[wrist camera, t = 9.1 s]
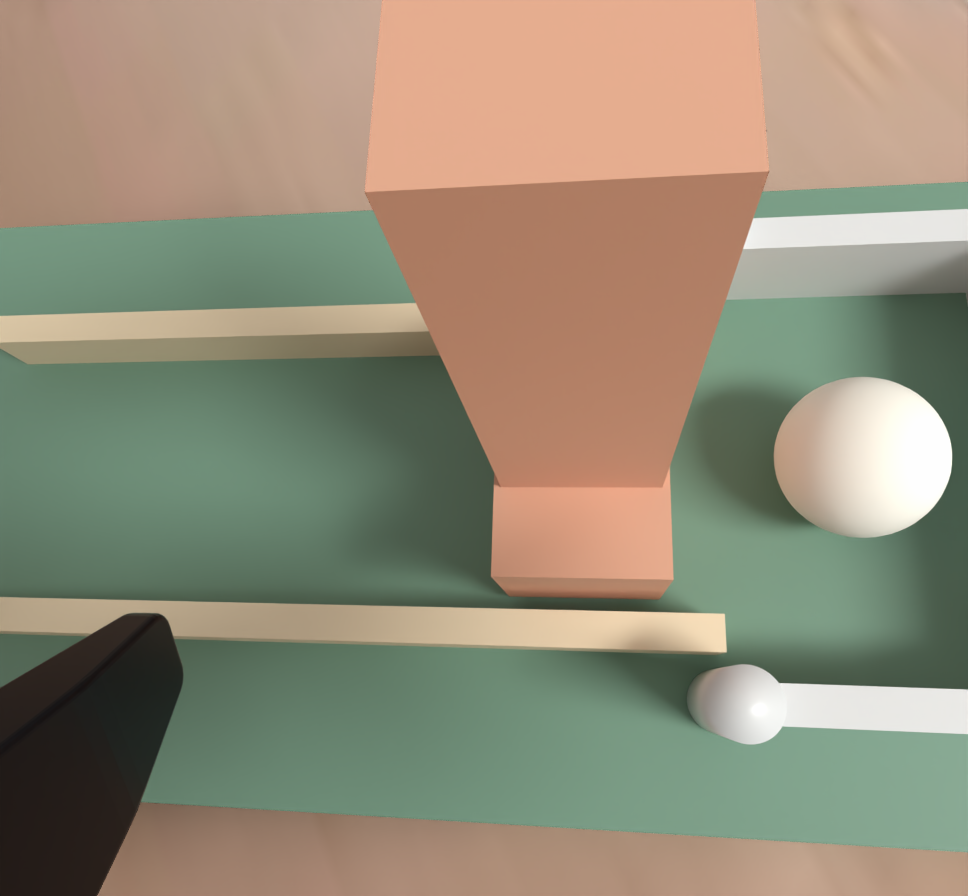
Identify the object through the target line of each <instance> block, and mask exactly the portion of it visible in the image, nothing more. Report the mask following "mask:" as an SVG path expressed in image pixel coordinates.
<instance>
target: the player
mask: <svg viewBox="0 0 968 896" xmlns="http://www.w3.org/2000/svg"><path fill="white" fill-rule="evenodd" d="M768 173H769V164H768V151H767V139H766V126H765V114H764V102H763V89H762V77H761V65H760V52H759V40H758V28H757V15H756V3H755V0H382V7H381V18H380V29H379V40H378V51H377V62H376V73H375V84H374V95H373V106H372V117H371V128H370V139H369V150H368V161H367V172H366V183H365V194H366V196H367V198H368V200H369V203H370V205H371V207H372V209H373V211H374V213H375V216H376V218H377V220H378V222H379V224H380V226H381V229H382V231H383V233H384V235H385V237H386V239H387V242H388V244H389V246H390V248H391V250H392V252H393V255H394V257H395V259H396V261H397V263H398V265H399V268H400V270H401V272H402V274H403V276H404V278H405V280H406V283H407V285H408V287H409V289H410V291H411V293H412V296H413V298H414V300H415V302H416V304H417V306H418V309H419V311H420V313H421V315H422V317H423V319H424V322H425V324H426V326H427V328H428V330H429V332H430V335H431V337H432V339H433V341H434V343H435V345H436V348H437V350H438V352H439V354H440V356H441V358H442V361H443V363H444V365H445V367H446V369H447V371H448V373H449V376H450V378H451V380H452V382H453V384H454V386H455V389H456V391H457V393H458V395H459V397H460V399H461V402H462V404H463V406H464V408H465V410H466V412H467V415H468V417H469V419H470V421H471V423H472V425H473V428H474V430H475V432H476V434H477V436H478V438H479V441H480V443H481V445H482V447H483V449H484V451H485V454H486V456H487V458H488V460H489V462H490V464H491V467H492V469H493V471H494V497H493V528H492V559H491V577H492V578H493V579H494V580H495V582H496V583H497V584H498V585H499V586H500V587H501V588H502V589H503V590H504V591H505V592H506V594H507V595H508V596H509V597H557V598H605V599H653V600H659V599H660V598H661V597H662V595H663V594H664V592H665V591H666V590H667V588H668V587H669V585H670V584H671V583H672V581H673V580H674V578H673V549H672V519H671V490H670V464H671V461H672V458H673V455H674V452H675V449H676V446H677V444H678V441H679V438H680V435H681V432H682V429H683V426H684V423H685V420H686V417H687V414H688V411H689V408H690V405H691V402H692V399H693V396H694V393H695V390H696V387H697V384H698V381H699V378H700V375H701V372H702V369H703V366H704V363H705V360H706V357H707V354H708V351H709V348H710V345H711V343H712V340H713V337H714V334H715V331H716V328H717V325H718V322H719V319H720V316H721V313H722V310H723V307H724V304H725V301H726V298H727V295H728V292H729V289H730V286H731V283H732V280H733V277H734V274H735V271H736V268H737V265H738V262H739V259H740V256H741V253H742V250H743V247H744V245H745V242H746V239H747V236H748V233H749V230H750V227H751V224H752V221H753V218H754V215H755V212H756V209H757V206H758V203H759V200H760V197H761V194H762V191H763V188H764V185H765V182H766V179H767V176H768Z"/></svg>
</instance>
